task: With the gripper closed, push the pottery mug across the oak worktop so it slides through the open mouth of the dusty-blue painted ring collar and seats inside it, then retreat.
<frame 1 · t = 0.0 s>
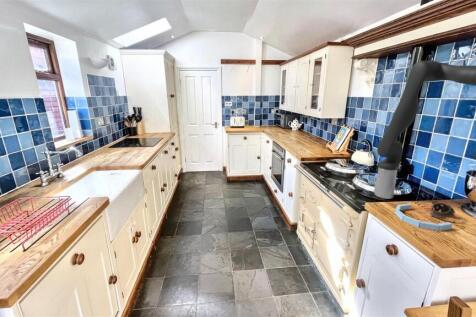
pottery mug: (440, 216, 110), on the countertop
collar: (421, 218, 108), on the countertop
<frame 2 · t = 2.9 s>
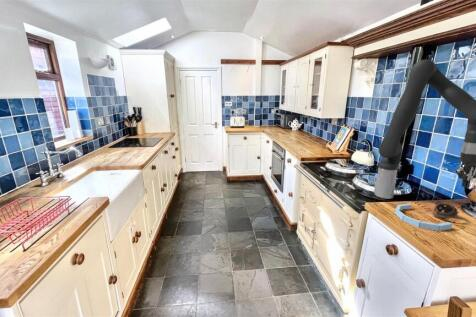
hand: (465, 187, 108), 14 cm above the countertop, fingers closed
pottery mug: (443, 216, 109), on the countertop
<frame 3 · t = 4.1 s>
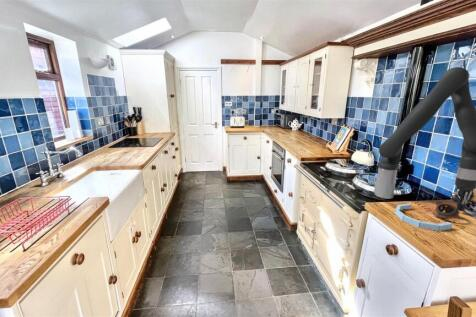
hand: (459, 210, 111), 2 cm above the countertop, fingers closed
nothing on the countertop moved.
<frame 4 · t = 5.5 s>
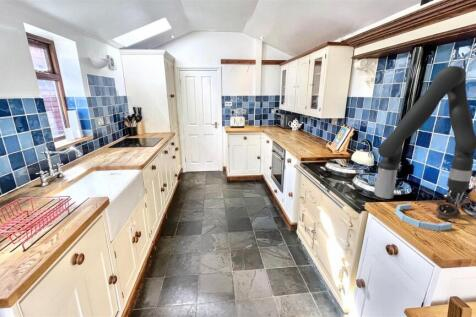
hand: (452, 211, 111), 2 cm above the countertop, fingers closed
pottery mug: (445, 217, 109), on the countertop, touching gripper
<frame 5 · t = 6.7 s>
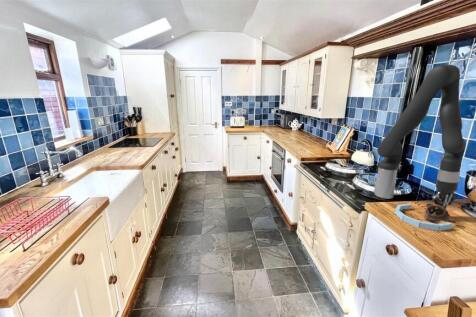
hand: (441, 213, 109), 2 cm above the countertop, fingers closed
pottery mug: (434, 219, 107), on the countertop, touching gripper
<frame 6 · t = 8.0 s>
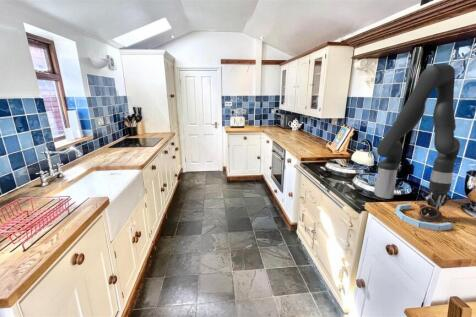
hand: (434, 213, 109), 2 cm above the countertop, fingers closed
pottery mug: (428, 220, 106), on the countertop, touching gripper
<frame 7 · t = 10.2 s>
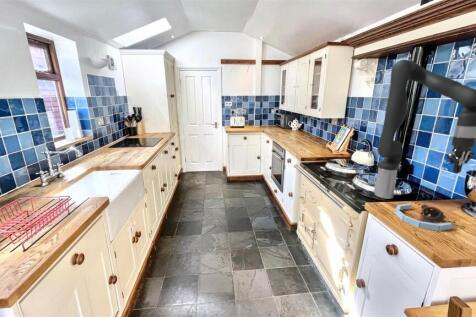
hand: (456, 172, 105), 22 cm above the countertop, fingers closed
pottery mug: (429, 221, 106), on the countertop
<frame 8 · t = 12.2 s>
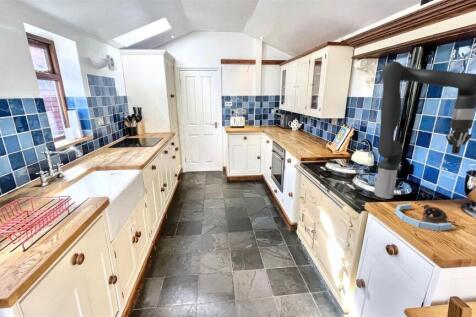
hand: (455, 153, 111), 29 cm above the countertop, fingers closed
nothing on the countertop moved.
at the end: pottery mug 3.8 cm from the collar (horizontally); pottery mug tilted 2°; pottery mug moved 8.6 cm from its start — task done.
